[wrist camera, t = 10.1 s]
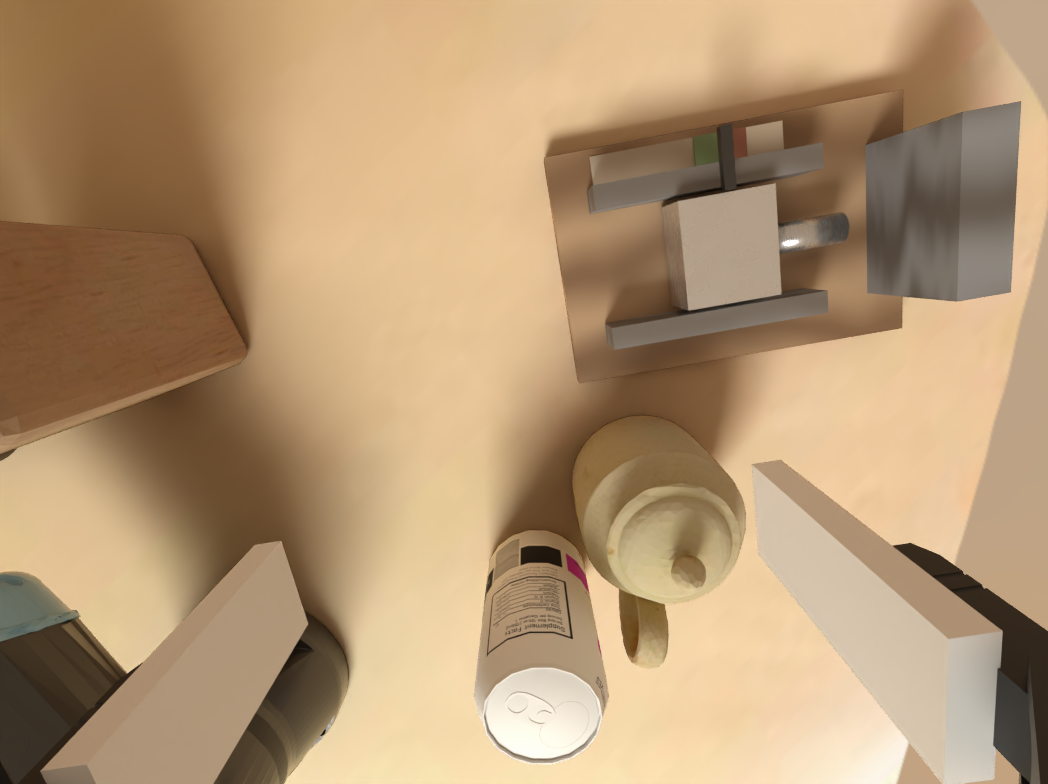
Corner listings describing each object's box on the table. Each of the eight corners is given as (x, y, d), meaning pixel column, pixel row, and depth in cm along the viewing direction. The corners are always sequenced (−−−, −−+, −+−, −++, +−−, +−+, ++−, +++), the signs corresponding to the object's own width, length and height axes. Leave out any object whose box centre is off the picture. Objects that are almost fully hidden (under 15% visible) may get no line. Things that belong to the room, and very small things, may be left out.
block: (192, 230, 38) (-157, 197, 18) (257, 356, 40) (7, 445, 21) (75, 280, 39) (-377, 299, 19) (145, 400, 41) (-196, 526, 22)
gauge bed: (894, 324, 39) (1008, 343, 30) (577, 378, 40) (593, 413, 31) (894, 95, 36) (1024, 37, 26) (543, 161, 37) (550, 128, 27)
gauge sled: (824, 278, 37) (867, 281, 32) (671, 305, 37) (691, 311, 33) (819, 119, 34) (864, 97, 30) (655, 150, 35) (674, 134, 30)
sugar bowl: (731, 551, 44) (833, 693, 30) (609, 591, 45) (650, 748, 31) (683, 393, 41) (771, 466, 26) (551, 440, 42) (566, 535, 27)
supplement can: (601, 552, 44) (639, 695, 30) (552, 624, 46) (565, 792, 31) (519, 509, 43) (516, 635, 29) (471, 584, 45) (447, 738, 30)
